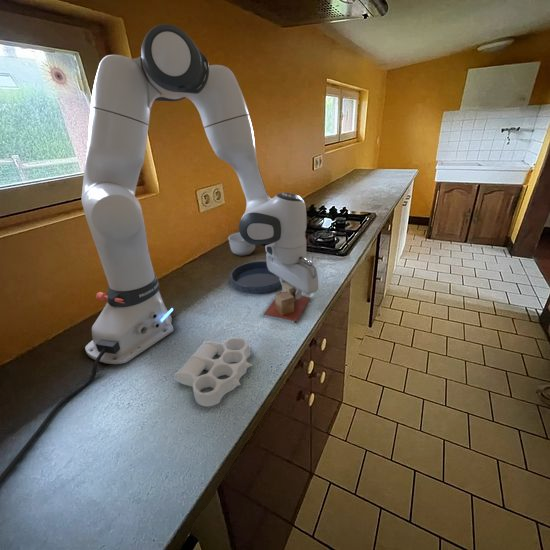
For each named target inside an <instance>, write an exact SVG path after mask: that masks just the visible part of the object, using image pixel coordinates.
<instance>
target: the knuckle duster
mask: <svg viewBox="0 0 550 550" xmlns="http://www.w3.org/2000/svg"><path fill="white" fill-rule="evenodd" d="M216 355H217V356H219V357H218V358H215V359H214V357H215V356H216ZM249 357H251V350H250V343H249V341H248V340H247V339H245V338H243V337H231V338H229V339H227V340H225V341H223V342H217V341H212V340H205V341H203V342H202V343H201V345H200V346H199V347H198V348H197V350H196V351H195V352H194V353H193V354H192V355H191V356H189V357H188V360H187V361H185V363H184V364H183V365H182V366H181V368H180V369H179V370H178V371H176V372H175V373H174V375H173V377H174V380H175V381H177V382H178V383H180V384H182V385H184V386H188V387H191V388H192V391H193V395H194V400H195V402H196V403H197V404H198V405H200V407H201V406H202V407H207V408H209V407H215V406H216V405H217V404H219V403H221V401H222V398H223V397H224V396H225V395H226V394H227V393H229V392H232V391H234V390H235V389H236V388H237V387H238V386H241V382H240V380H241V378H242V377H243V376H244V375H245V374H246V373H247V369H248V368H251V367H252V366H254V365H253V364H252V363H250V362H249V361H248V359H249ZM204 370H205V371H207V373H205V374H204V373H203V374H202V372H203V371H204ZM221 376H222V377H223V376H227V378H224V379H221V378H219V377H221ZM206 388H210V389H212V390H211V391H208V392H202V390H203V389H206Z"/></svg>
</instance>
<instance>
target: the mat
mask: <svg viewBox="0 0 550 550" xmlns="http://www.w3.org/2000/svg"><path fill="white" fill-rule="evenodd" d="M282 292H283V291H280V292H279V293H282ZM310 300H311V297H310V296H304V295H301V299H300V300H297V301H295V302H294V312H292V313H288V314H285V315H281V314H280V313H279V312H278V311H277V310H276V303H275V299H274V300H273V301H272V302H271V303H270V304H269V306H268V308H266V310H265V311H264V312H263V315H266V316H270V317H274V318H277V319H283V320H288V321H292V322H294V323H296V324H297V323H298V321H299V320H300V318H301V316H302V314H303V313H304V311H305V309H306V307H307V306H308V304H309V302H310Z"/></svg>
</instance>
